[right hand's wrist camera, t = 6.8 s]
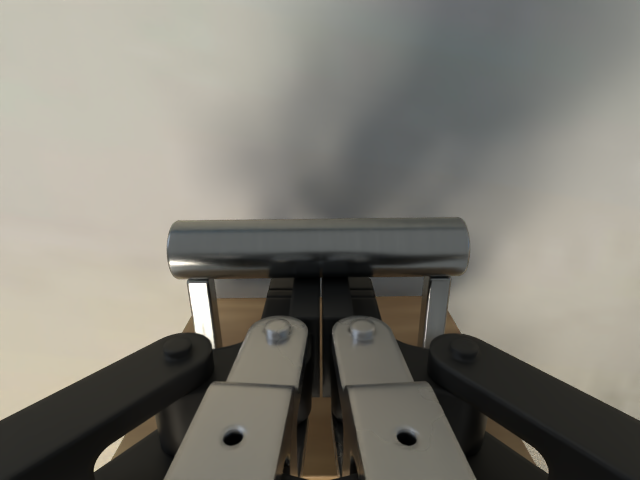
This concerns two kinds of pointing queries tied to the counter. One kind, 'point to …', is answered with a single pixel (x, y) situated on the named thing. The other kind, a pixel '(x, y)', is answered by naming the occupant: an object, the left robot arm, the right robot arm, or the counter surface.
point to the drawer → (320, 262)
